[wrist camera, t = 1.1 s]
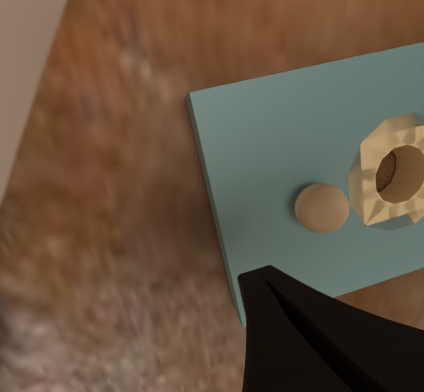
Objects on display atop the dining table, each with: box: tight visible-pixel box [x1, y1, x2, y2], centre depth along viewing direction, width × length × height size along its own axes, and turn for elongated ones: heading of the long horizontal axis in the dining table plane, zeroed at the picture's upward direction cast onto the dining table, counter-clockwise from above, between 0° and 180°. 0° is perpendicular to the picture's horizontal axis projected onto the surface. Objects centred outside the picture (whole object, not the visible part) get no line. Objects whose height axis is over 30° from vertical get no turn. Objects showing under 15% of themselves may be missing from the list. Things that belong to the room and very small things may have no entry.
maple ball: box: [295, 183, 349, 234], centre depth 16 cm, size 3×3×3 cm
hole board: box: [185, 42, 424, 328], centre depth 19 cm, size 18×16×2 cm
